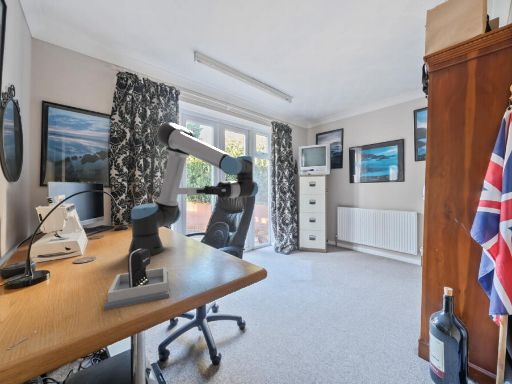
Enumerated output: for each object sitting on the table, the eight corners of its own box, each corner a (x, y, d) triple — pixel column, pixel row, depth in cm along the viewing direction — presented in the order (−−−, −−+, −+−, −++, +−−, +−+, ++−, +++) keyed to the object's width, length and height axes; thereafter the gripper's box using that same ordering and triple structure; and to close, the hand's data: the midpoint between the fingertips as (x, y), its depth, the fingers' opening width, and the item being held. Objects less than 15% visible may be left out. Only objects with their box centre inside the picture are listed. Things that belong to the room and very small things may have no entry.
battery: (140, 291, 65) (139, 253, 65) (128, 291, 66) (126, 253, 65) (152, 281, 72) (151, 247, 72) (141, 281, 73) (140, 247, 72)
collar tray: (116, 282, 74) (116, 272, 74) (167, 274, 81) (167, 264, 81) (104, 310, 58) (103, 297, 58) (169, 296, 64) (169, 285, 64)
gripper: (243, 199, 90) (193, 202, 77) (215, 197, 110) (171, 199, 97) (243, 180, 90) (193, 181, 77) (214, 182, 109) (170, 182, 96)
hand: (180, 191), depth 87 cm, fingers open, 13 cm apart
